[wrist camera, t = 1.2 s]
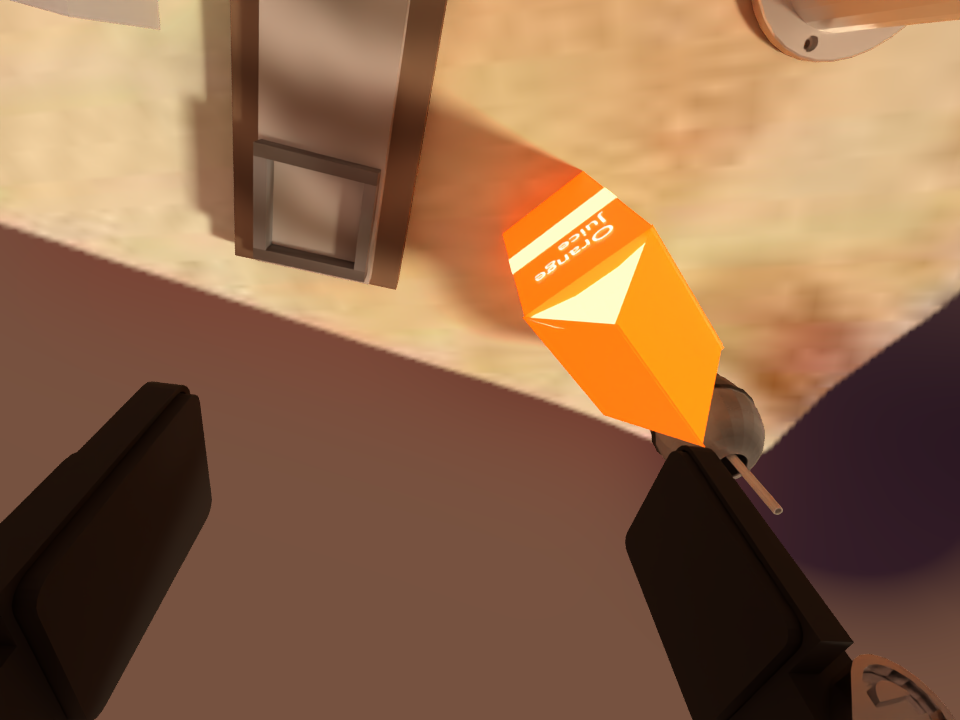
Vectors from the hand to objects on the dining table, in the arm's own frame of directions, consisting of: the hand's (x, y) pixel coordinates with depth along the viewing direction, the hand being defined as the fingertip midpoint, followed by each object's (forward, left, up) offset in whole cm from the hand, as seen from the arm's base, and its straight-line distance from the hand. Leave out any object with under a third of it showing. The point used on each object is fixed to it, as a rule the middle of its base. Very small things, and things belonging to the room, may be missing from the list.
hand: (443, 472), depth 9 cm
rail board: (-3, -9, -29) cm, 31 cm away
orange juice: (+3, +10, -30) cm, 31 cm away
